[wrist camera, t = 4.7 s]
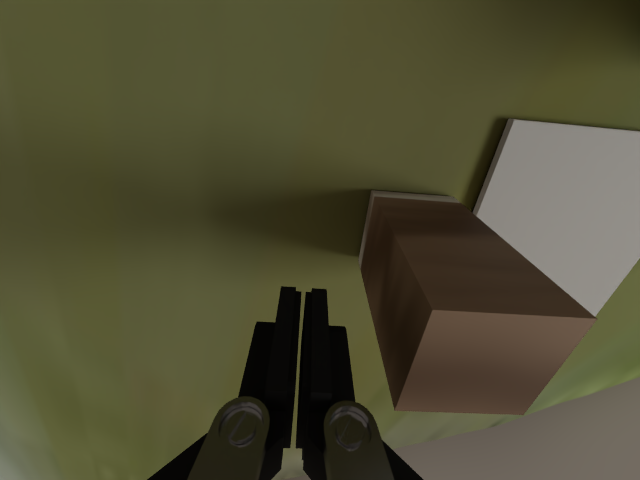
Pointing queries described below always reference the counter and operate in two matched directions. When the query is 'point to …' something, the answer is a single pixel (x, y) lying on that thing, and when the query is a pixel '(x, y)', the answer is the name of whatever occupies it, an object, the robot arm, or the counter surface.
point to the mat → (567, 203)
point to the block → (460, 309)
